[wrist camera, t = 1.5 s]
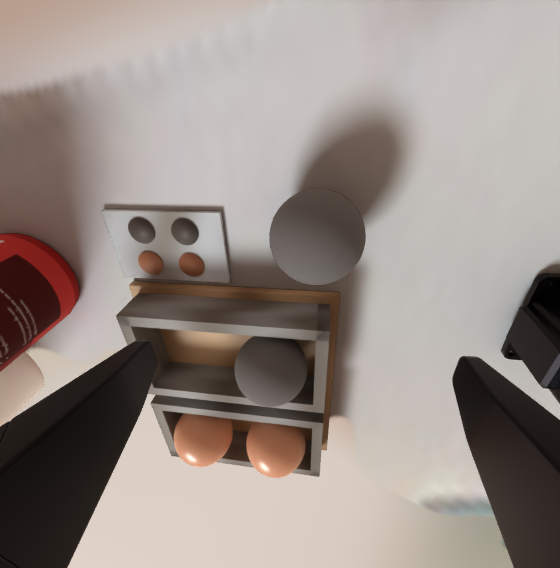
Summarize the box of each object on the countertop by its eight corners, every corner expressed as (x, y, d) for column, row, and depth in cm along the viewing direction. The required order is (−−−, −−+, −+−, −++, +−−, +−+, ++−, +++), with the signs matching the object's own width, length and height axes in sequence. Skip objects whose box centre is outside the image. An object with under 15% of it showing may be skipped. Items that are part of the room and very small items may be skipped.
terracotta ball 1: (236, 394, 27) (218, 449, 23) (241, 427, 30) (226, 482, 26) (183, 388, 28) (156, 440, 24) (193, 421, 30) (170, 474, 26)
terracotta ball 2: (308, 401, 26) (303, 460, 22) (307, 435, 29) (302, 494, 25) (251, 395, 27) (236, 451, 23) (255, 429, 30) (242, 485, 25)
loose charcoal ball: (366, 178, 17) (377, 207, 12) (357, 260, 19) (363, 307, 15) (275, 178, 17) (257, 205, 13) (278, 257, 20) (264, 300, 16)
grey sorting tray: (346, 213, 18) (349, 236, 15) (326, 444, 30) (325, 481, 27) (103, 209, 20) (65, 228, 17) (178, 425, 32) (163, 457, 30)
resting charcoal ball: (310, 319, 21) (304, 374, 17) (309, 369, 24) (303, 427, 20) (241, 314, 22) (220, 366, 18) (247, 363, 25) (230, 418, 21)
